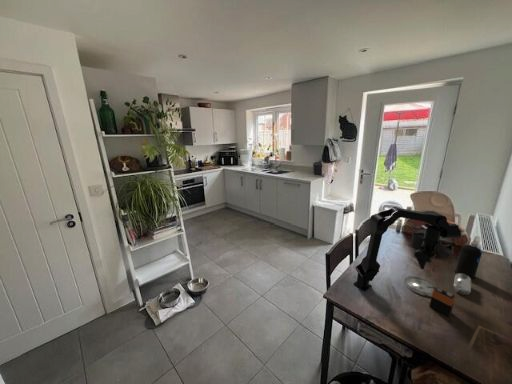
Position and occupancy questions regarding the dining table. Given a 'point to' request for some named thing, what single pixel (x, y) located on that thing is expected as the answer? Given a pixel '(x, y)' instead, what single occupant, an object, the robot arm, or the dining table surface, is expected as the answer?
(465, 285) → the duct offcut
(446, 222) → the robot arm
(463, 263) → the aerosol can
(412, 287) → the flange plate
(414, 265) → the dining table surface
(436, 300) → the battery
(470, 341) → the dining table surface
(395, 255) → the dining table surface
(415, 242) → the pen holder
